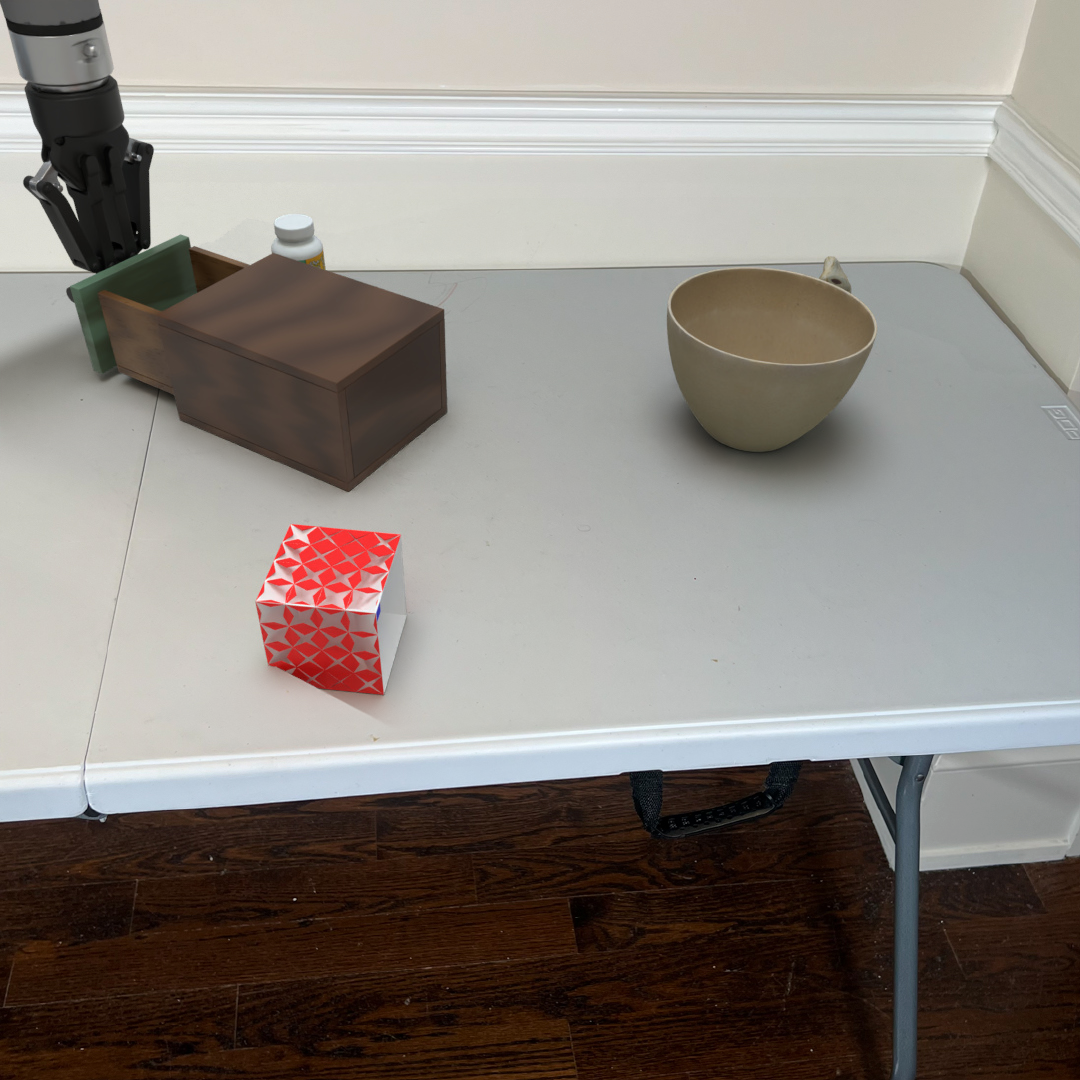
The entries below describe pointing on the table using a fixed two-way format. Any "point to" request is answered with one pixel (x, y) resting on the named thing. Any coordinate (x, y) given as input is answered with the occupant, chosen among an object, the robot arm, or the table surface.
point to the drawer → (142, 305)
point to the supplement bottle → (298, 240)
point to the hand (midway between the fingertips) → (130, 324)
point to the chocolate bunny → (835, 274)
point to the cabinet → (307, 367)
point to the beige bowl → (765, 352)
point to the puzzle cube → (334, 607)
